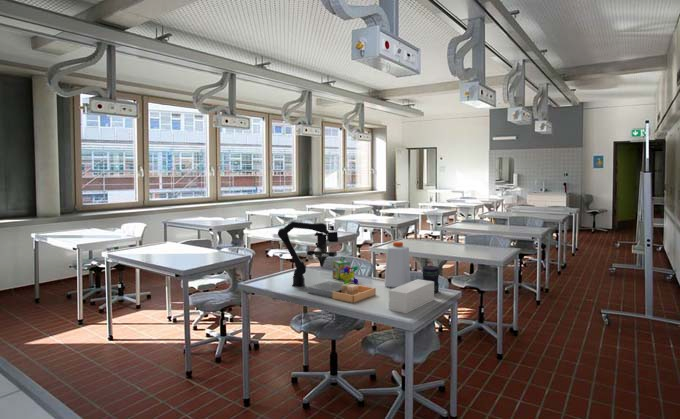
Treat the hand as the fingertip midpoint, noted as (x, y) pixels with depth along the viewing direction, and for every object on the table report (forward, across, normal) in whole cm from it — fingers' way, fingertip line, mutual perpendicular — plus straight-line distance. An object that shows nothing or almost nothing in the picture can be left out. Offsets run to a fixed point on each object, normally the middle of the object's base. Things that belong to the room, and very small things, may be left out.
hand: (321, 266), depth 301 cm
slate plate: (+12, +11, -15) cm, 22 cm away
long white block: (+12, +63, -27) cm, 70 cm away
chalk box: (+12, +6, +22) cm, 26 cm away
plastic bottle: (+12, +47, +13) cm, 50 cm away
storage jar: (+12, +69, +4) cm, 70 cm away
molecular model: (+12, +16, +8) cm, 22 cm away
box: (+12, +28, -21) cm, 37 cm away
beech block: (+9, +21, -19) cm, 30 cm away
